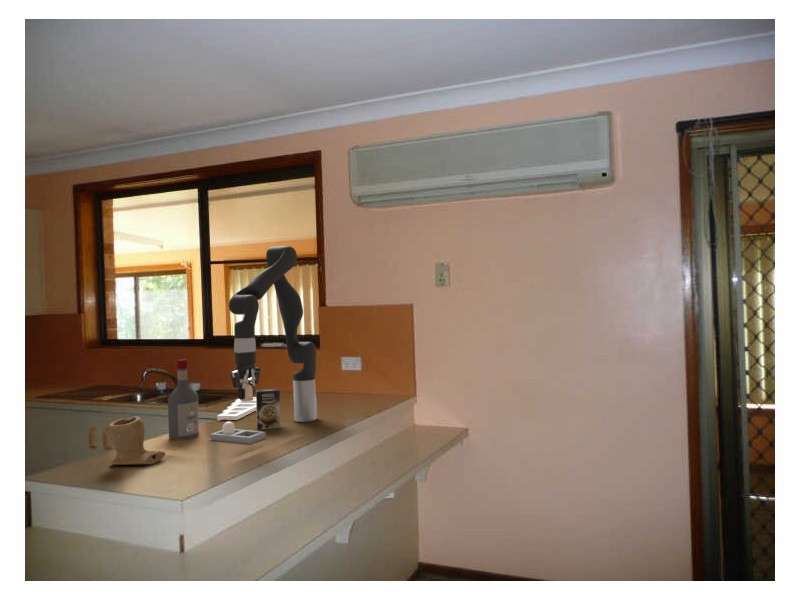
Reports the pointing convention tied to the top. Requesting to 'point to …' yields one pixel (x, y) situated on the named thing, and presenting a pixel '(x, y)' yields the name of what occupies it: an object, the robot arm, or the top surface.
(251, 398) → the brown egg
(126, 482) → the top surface
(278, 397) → the coffee box
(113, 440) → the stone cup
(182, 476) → the top surface
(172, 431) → the liquor
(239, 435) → the egg carton
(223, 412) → the holder
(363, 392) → the top surface
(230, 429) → the cream egg
